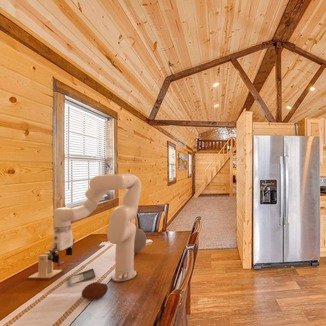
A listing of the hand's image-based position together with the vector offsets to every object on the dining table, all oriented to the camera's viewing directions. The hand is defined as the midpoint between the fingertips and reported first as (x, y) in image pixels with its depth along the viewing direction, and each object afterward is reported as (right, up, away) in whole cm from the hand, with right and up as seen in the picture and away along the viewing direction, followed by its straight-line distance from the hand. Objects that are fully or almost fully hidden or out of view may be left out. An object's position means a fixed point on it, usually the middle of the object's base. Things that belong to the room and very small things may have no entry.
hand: (62, 258), depth 134 cm
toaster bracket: (-10, -10, 0) cm, 14 cm away
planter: (+23, -11, +35) cm, 43 cm away
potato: (+34, -10, -22) cm, 42 cm away
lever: (-6, -2, 0) cm, 6 cm away
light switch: (+14, -11, -4) cm, 18 cm away
